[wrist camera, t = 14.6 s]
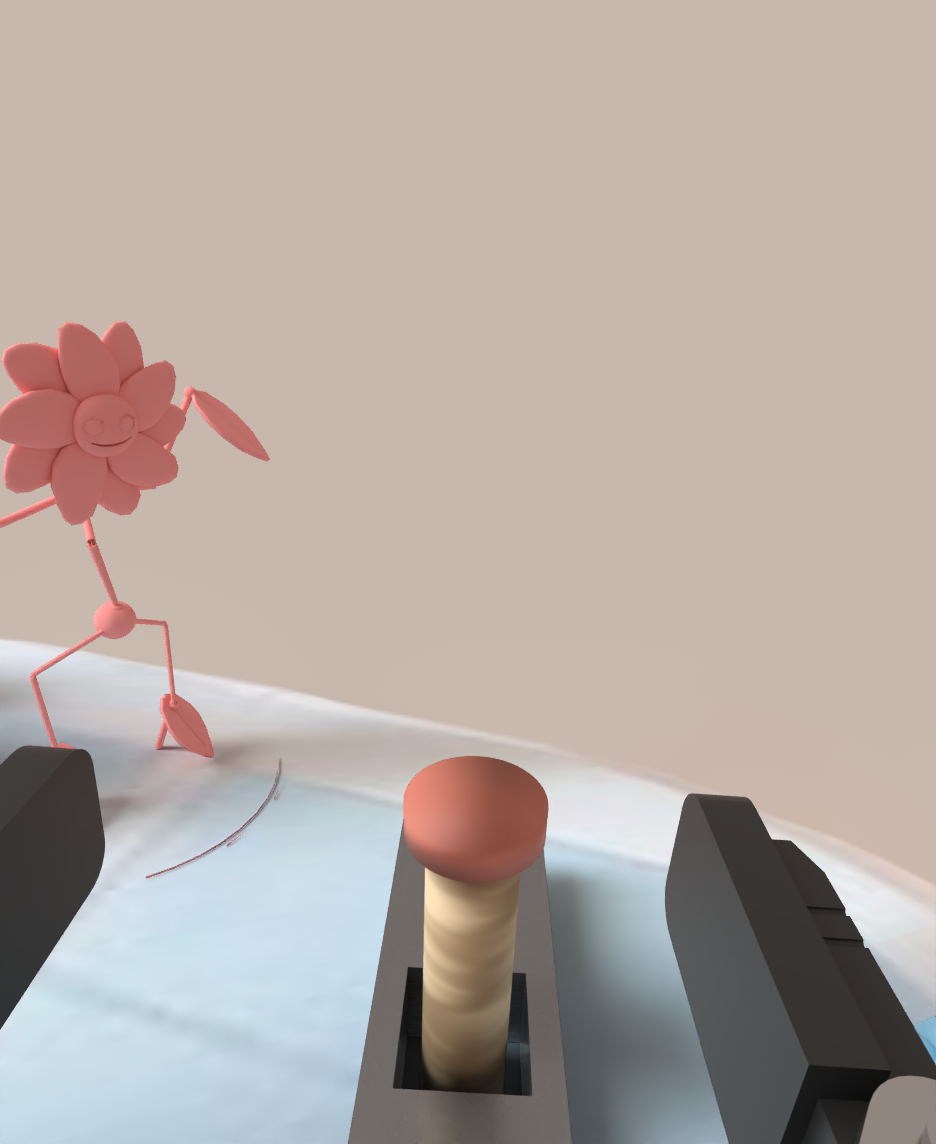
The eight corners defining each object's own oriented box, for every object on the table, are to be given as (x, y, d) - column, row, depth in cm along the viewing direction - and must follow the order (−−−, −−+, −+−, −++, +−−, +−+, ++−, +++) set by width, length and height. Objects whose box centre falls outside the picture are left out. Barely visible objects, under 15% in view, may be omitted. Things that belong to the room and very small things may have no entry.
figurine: (-86, 861, 48) (-242, 310, 35) (230, 704, 68) (202, 317, 56) (28, 986, 40) (-120, 334, 28) (348, 767, 60) (347, 332, 48)
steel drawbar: (297, 1561, 22) (289, 1483, 20) (403, 879, 48) (403, 819, 46) (589, 1581, 22) (606, 1503, 20) (535, 886, 48) (541, 826, 46)
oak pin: (395, 1163, 32) (394, 846, 26) (409, 1040, 38) (411, 753, 31) (523, 1171, 32) (554, 854, 26) (518, 1046, 38) (543, 759, 31)
